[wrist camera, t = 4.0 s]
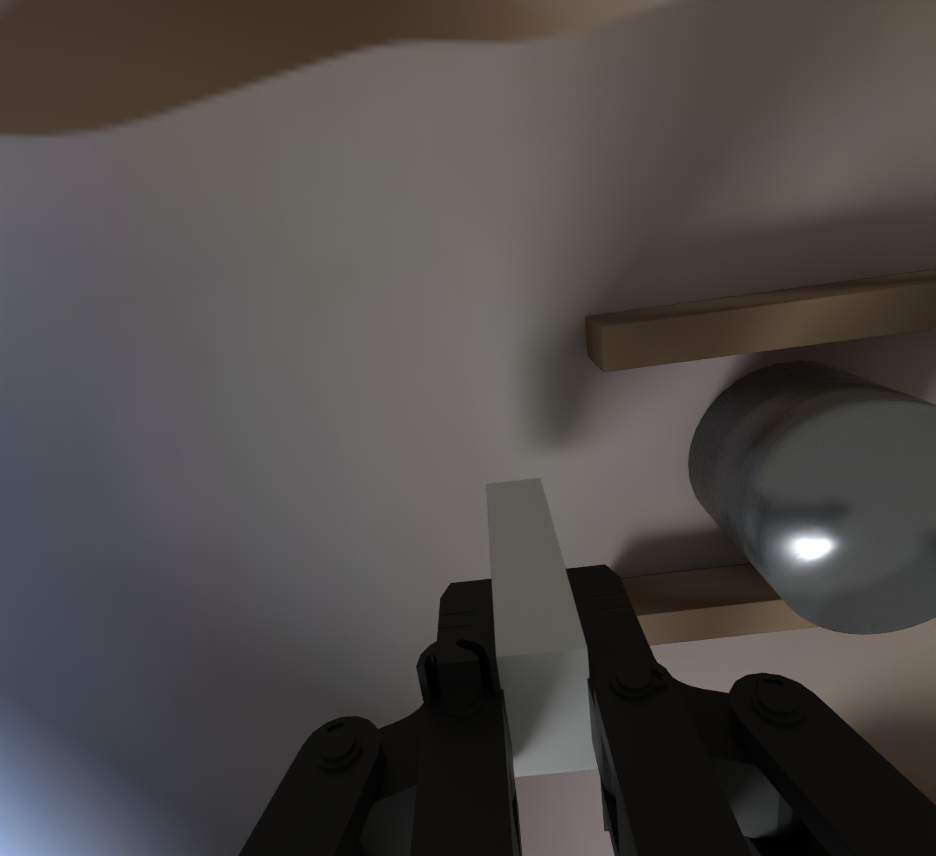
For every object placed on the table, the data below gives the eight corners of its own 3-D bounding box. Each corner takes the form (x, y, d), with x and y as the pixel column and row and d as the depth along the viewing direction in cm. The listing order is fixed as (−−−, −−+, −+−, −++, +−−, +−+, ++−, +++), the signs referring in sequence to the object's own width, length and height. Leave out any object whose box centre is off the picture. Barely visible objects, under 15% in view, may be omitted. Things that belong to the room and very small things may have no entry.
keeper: (687, 544, 19) (761, 646, 14) (687, 374, 17) (771, 428, 12) (867, 523, 19) (1000, 620, 14) (887, 348, 17) (1050, 394, 12)
